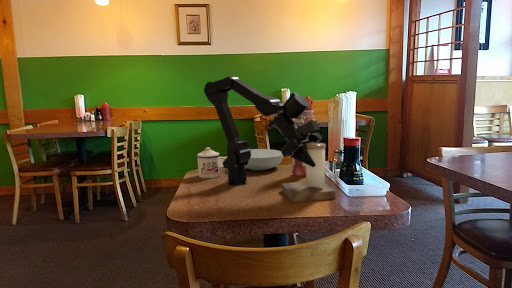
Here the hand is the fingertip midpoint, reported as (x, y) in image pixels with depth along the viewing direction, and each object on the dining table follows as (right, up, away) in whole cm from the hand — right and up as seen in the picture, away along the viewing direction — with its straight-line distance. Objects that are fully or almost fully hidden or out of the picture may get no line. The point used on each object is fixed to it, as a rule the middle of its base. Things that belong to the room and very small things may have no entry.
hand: (319, 164), depth 117 cm
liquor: (-2, -6, +29) cm, 30 cm away
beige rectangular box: (-3, -10, +4) cm, 11 cm away
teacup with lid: (-38, -7, +33) cm, 51 cm away
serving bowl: (-19, -4, +45) cm, 49 cm away
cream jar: (-1, -6, +2) cm, 7 cm away
